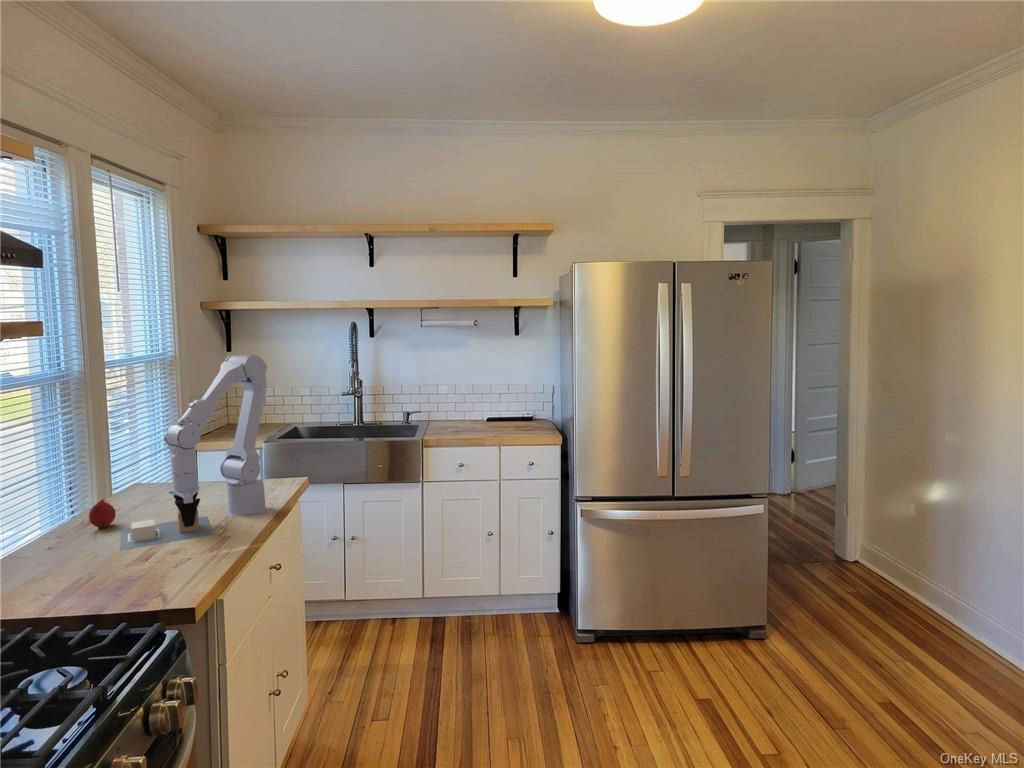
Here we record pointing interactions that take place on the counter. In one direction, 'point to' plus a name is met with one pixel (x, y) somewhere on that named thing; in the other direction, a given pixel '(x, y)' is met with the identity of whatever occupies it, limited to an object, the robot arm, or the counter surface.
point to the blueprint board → (159, 533)
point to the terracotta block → (190, 528)
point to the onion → (102, 514)
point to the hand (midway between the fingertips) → (188, 523)
